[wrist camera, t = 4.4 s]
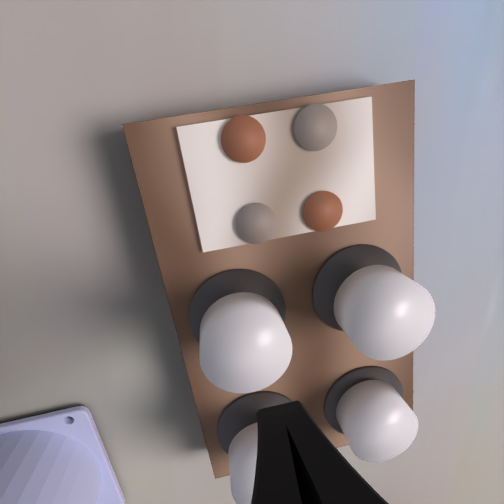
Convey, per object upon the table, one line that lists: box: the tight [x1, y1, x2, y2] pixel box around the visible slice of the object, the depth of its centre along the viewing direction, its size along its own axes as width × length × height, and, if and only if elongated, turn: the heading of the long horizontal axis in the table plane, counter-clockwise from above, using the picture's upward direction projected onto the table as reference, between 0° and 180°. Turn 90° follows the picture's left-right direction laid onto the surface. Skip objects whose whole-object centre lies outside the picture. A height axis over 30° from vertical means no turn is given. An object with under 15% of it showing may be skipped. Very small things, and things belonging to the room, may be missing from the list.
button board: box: [122, 80, 415, 479], centre depth 17 cm, size 12×19×2 cm, turn 9°
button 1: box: [199, 292, 292, 393], centre depth 14 cm, size 4×4×2 cm
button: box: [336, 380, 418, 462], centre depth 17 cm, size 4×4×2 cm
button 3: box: [334, 265, 435, 361], centre depth 14 cm, size 4×4×2 cm
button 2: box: [228, 423, 258, 504], centre depth 16 cm, size 4×4×2 cm
